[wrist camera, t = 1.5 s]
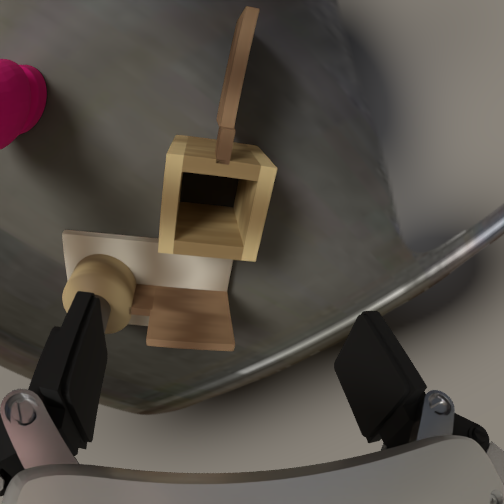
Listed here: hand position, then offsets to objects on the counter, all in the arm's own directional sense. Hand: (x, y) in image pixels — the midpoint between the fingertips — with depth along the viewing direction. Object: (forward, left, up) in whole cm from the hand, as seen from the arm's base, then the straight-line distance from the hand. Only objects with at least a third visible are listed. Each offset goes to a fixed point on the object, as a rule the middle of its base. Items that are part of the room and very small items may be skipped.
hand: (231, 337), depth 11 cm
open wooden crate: (-5, 0, -17) cm, 18 cm away
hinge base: (+11, -5, -17) cm, 21 cm away
